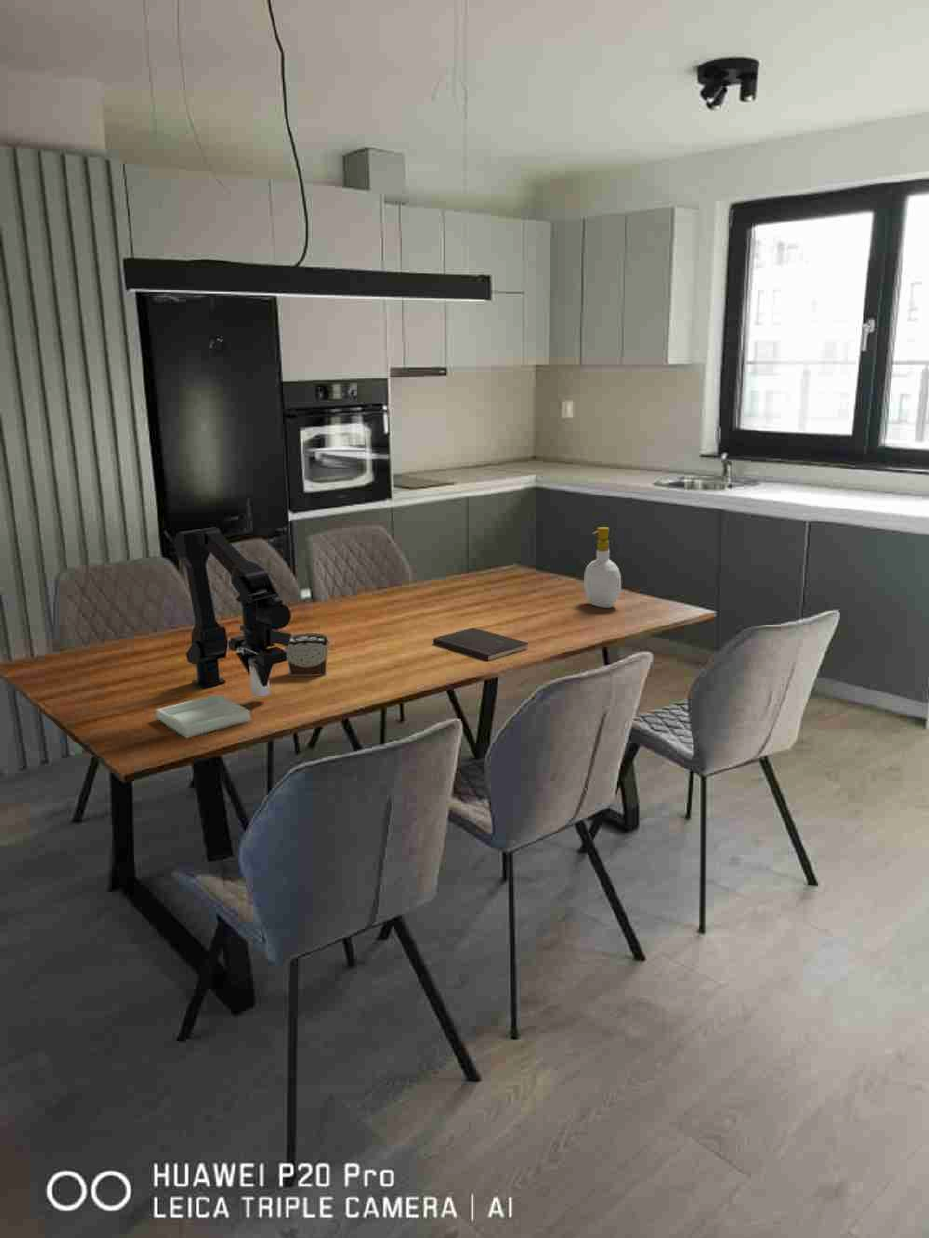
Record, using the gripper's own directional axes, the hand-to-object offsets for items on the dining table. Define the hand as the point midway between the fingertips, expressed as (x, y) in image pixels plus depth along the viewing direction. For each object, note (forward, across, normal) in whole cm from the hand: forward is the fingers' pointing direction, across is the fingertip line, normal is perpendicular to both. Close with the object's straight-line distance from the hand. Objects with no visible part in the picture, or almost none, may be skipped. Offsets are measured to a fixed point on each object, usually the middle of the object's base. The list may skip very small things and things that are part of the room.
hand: (259, 683), depth 234 cm
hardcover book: (+6, -2, -69) cm, 69 cm away
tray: (+5, -2, +16) cm, 17 cm away
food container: (+5, +12, -21) cm, 25 cm away
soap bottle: (+5, +5, -128) cm, 128 cm away
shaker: (+3, 0, 0) cm, 3 cm away
